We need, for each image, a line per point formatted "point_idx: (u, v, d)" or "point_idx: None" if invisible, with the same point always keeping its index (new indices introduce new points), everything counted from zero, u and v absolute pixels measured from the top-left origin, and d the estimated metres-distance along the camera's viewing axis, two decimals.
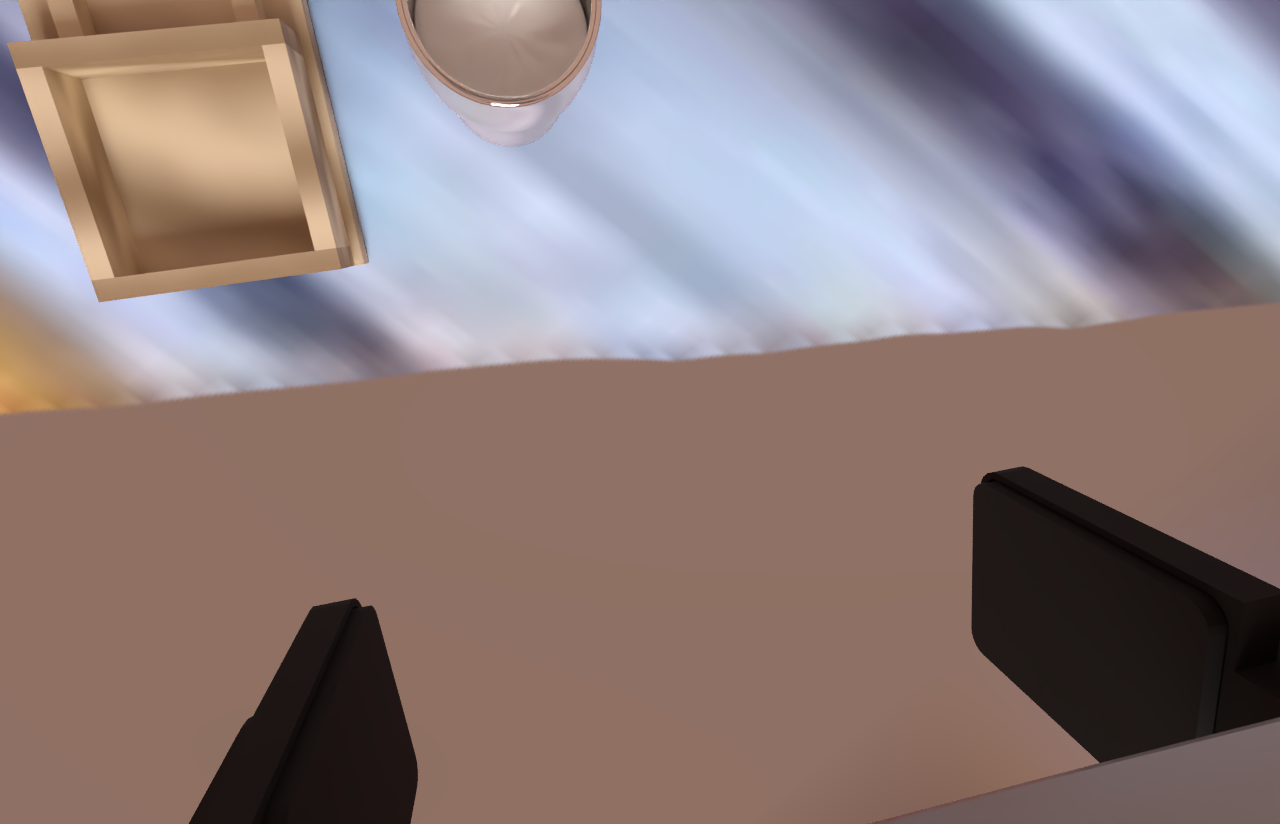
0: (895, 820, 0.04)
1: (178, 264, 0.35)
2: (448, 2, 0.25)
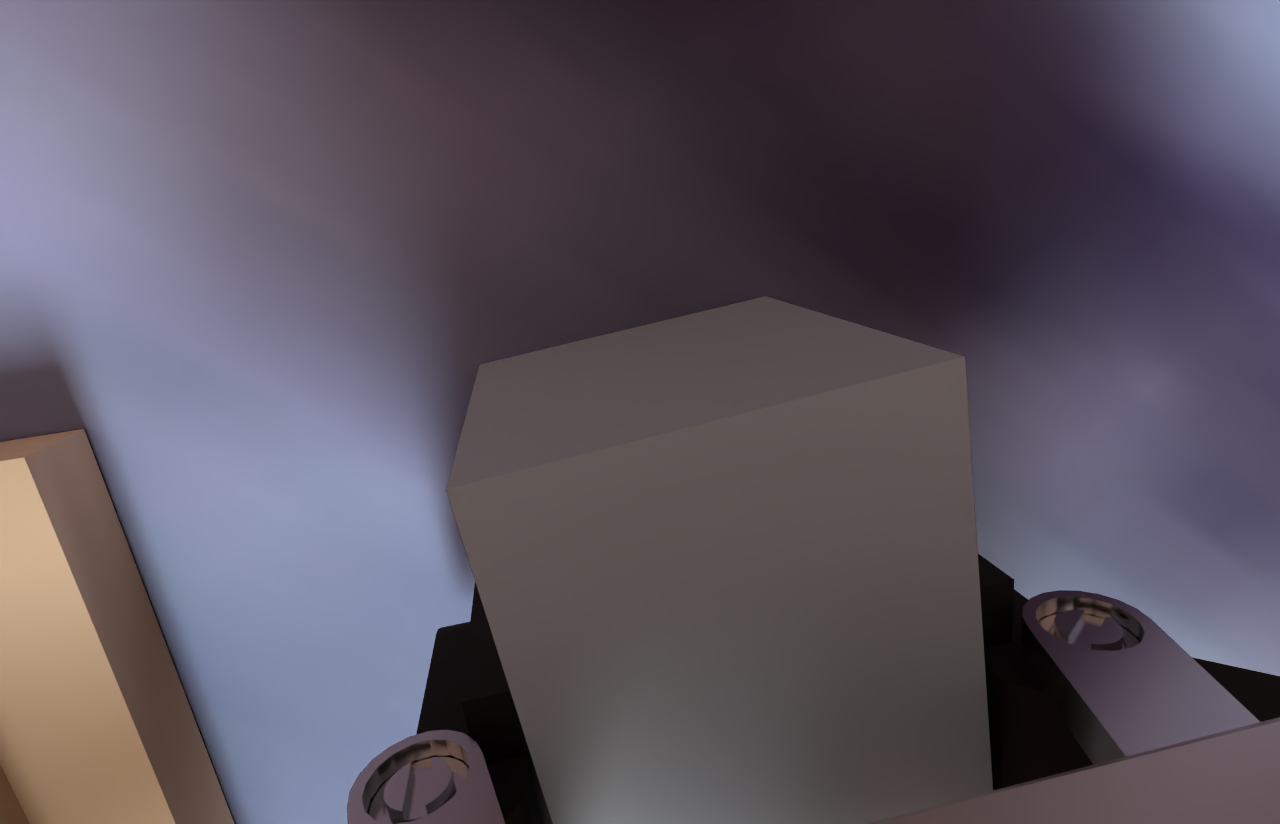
0: (895, 820, 0.04)
1: None
2: None
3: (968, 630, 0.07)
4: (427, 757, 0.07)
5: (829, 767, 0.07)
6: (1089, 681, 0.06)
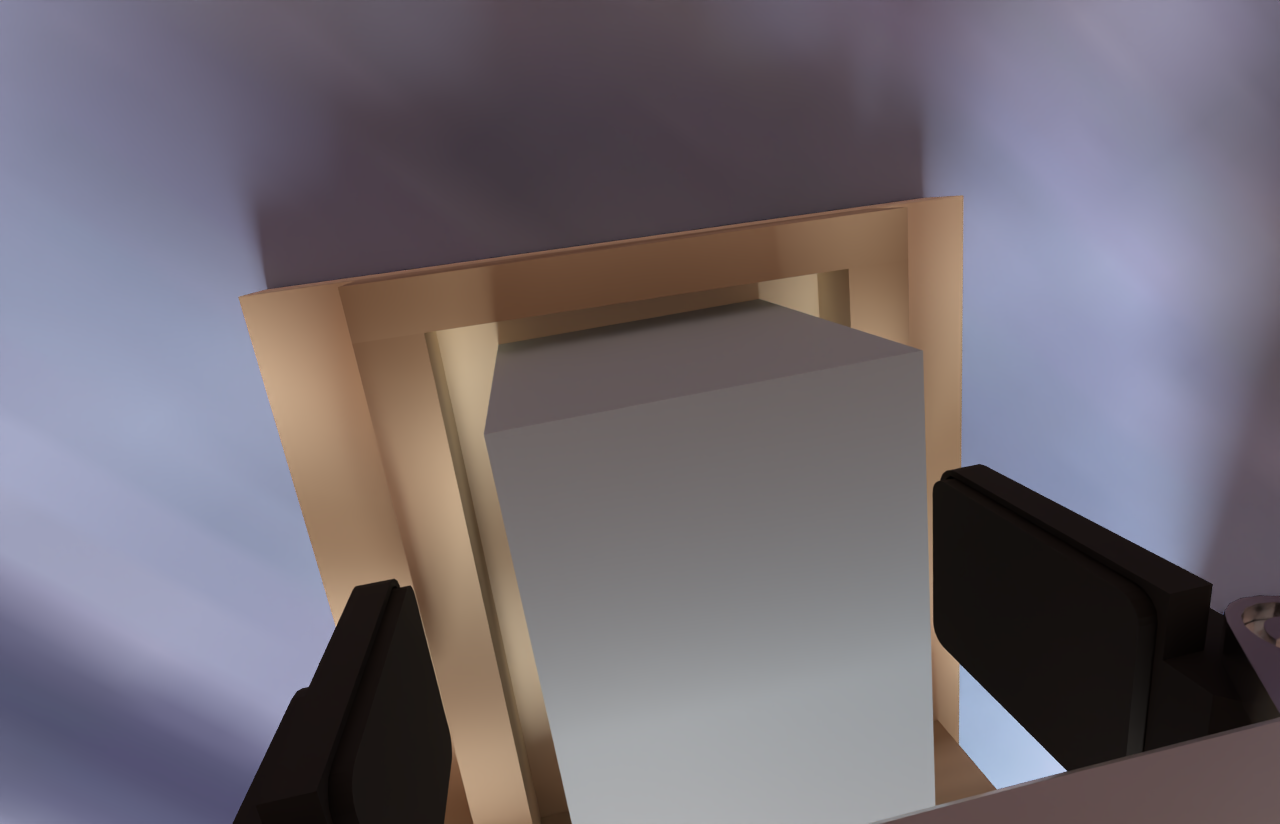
0: (895, 820, 0.04)
1: None
2: None
3: (917, 588, 0.08)
4: None
5: (791, 702, 0.08)
6: None
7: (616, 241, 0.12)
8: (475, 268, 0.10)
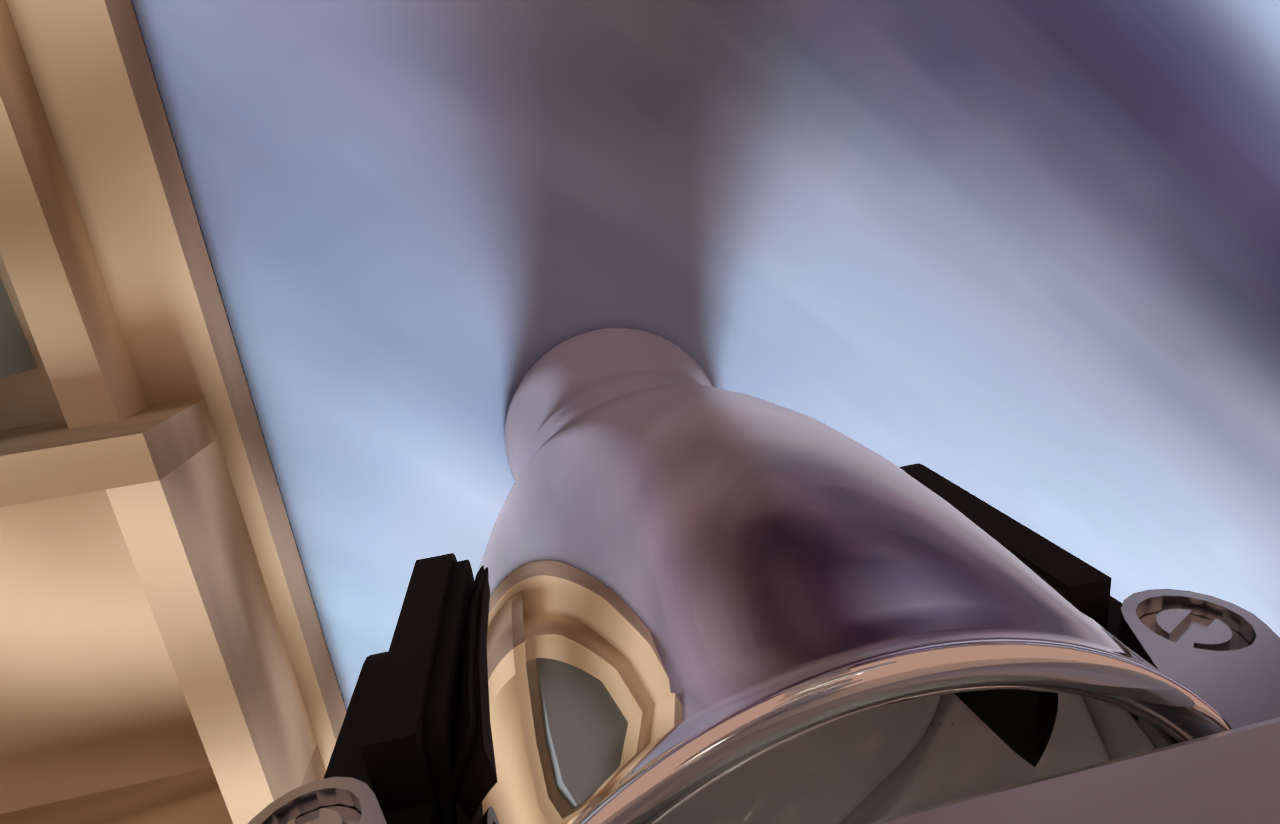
0: (895, 819, 0.04)
1: None
2: None
3: None
4: (323, 806, 0.06)
5: None
6: (1184, 676, 0.06)
7: None
8: None
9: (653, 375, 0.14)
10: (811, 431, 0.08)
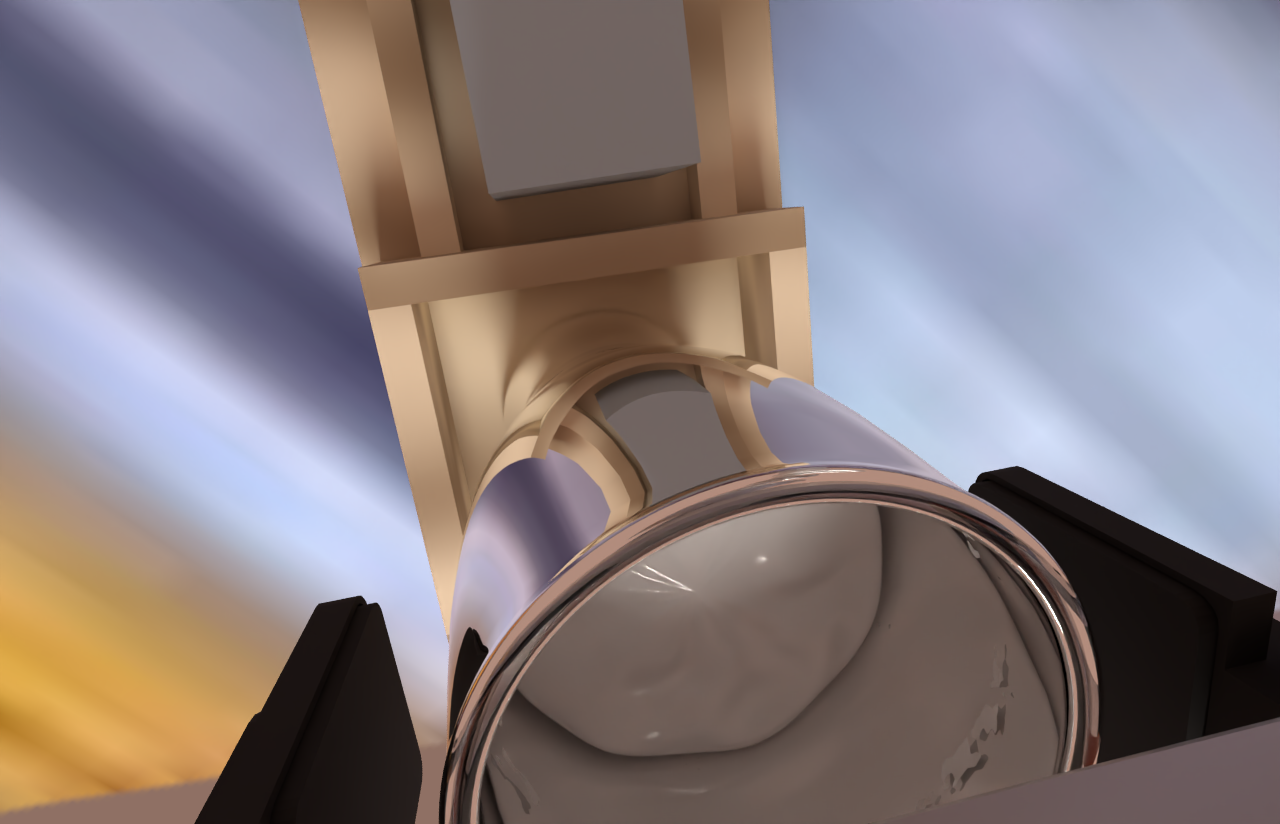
0: (895, 820, 0.04)
1: None
2: None
3: None
4: None
5: None
6: None
7: None
8: None
9: (633, 346, 0.16)
10: (748, 363, 0.10)
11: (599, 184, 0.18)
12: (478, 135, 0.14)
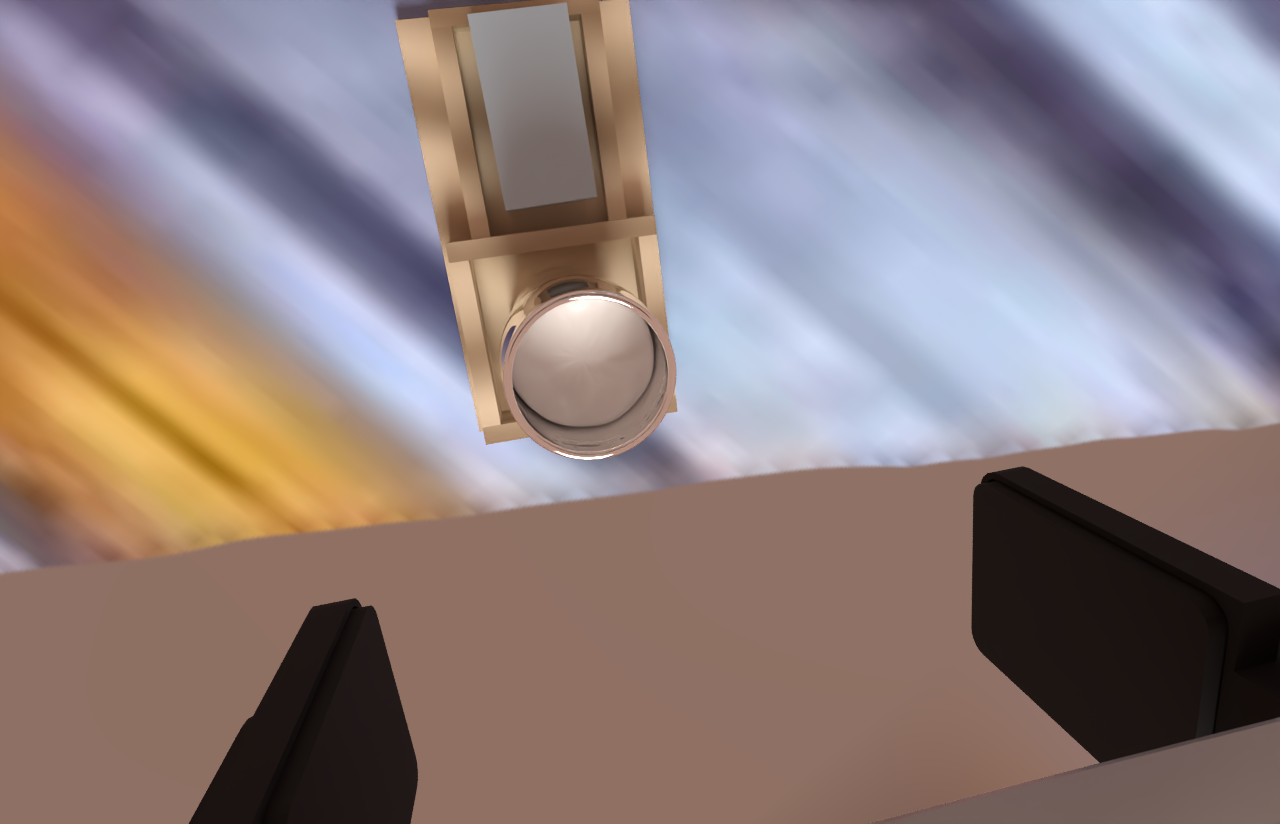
0: (895, 819, 0.04)
1: None
2: (534, 340, 0.29)
3: (574, 69, 0.32)
4: None
5: (544, 99, 0.32)
6: None
7: None
8: (466, 6, 0.34)
9: None
10: (596, 276, 0.29)
11: None
12: (501, 186, 0.33)
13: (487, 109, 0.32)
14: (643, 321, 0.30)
